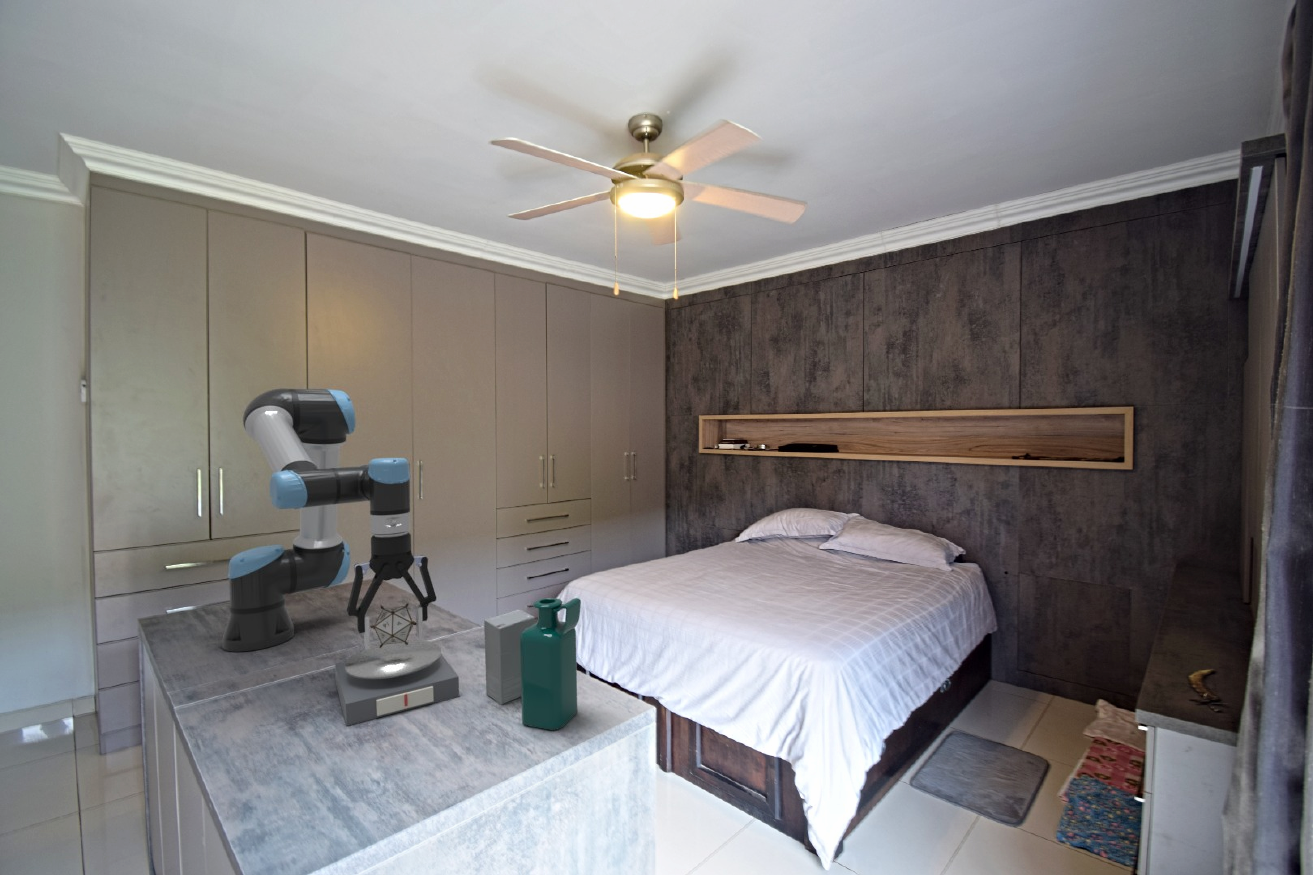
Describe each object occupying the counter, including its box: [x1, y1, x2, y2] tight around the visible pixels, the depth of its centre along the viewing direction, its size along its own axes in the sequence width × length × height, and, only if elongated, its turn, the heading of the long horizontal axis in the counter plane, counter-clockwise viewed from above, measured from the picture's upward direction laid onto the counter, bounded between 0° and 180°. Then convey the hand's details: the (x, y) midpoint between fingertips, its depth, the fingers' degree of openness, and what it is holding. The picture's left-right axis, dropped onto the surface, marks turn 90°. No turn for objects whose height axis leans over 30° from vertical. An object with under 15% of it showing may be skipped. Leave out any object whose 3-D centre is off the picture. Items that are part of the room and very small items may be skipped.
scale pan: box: [345, 639, 442, 679], centre depth 121 cm, size 18×18×2 cm
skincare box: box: [483, 608, 536, 705], centre depth 118 cm, size 8×7×16 cm
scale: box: [334, 653, 460, 727], centre depth 121 cm, size 23×20×4 cm
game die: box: [369, 602, 416, 649], centre depth 121 cm, size 9×8×10 cm
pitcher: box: [520, 597, 582, 731], centre depth 108 cm, size 10×8×22 cm
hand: (393, 641), depth 121 cm, fingers open, 9 cm apart
